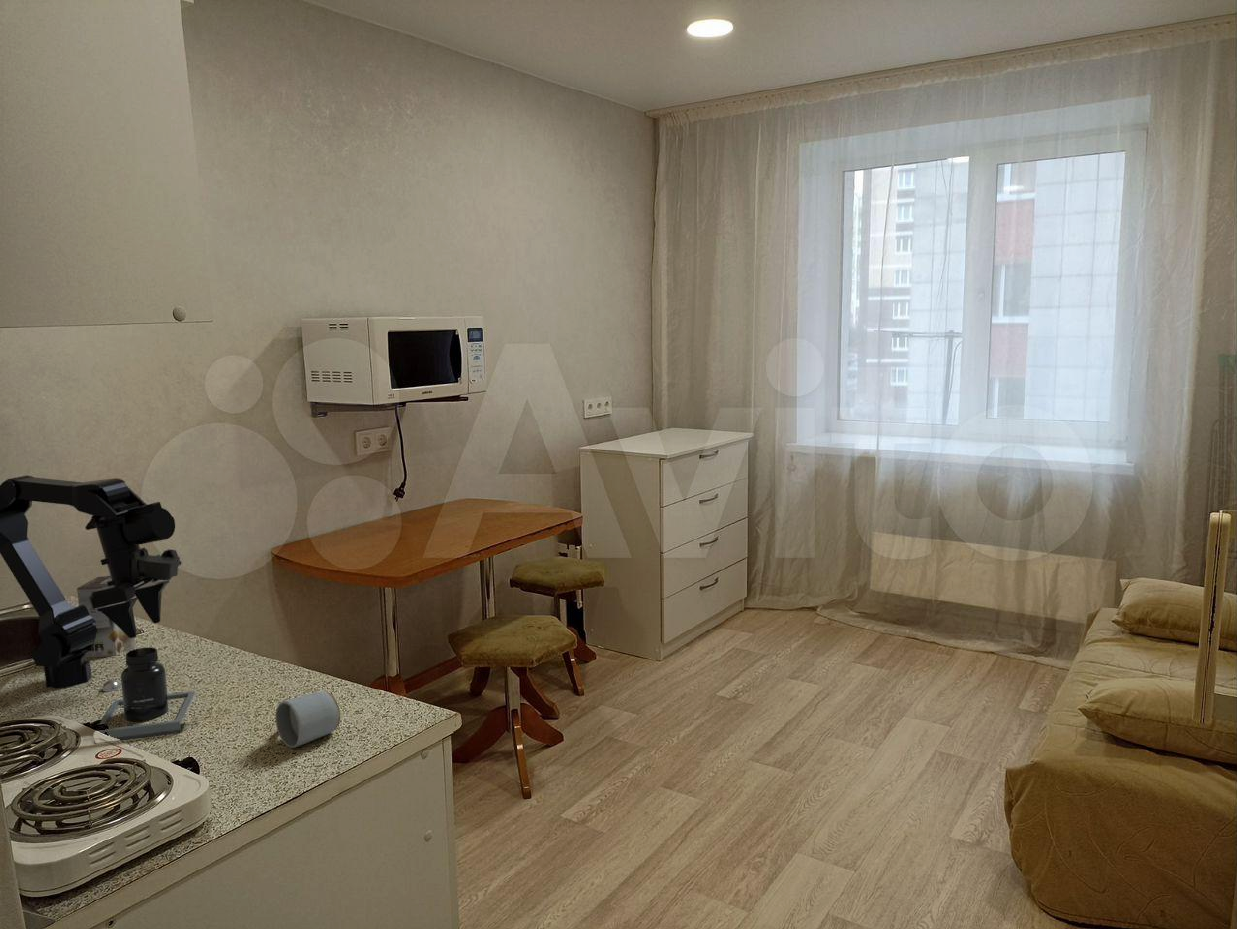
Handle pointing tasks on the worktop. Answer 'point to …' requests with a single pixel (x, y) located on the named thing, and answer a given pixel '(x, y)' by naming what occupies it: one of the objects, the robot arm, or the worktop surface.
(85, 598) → the coffee box
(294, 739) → the ceramic mug
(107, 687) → the mixing ball
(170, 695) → the tray
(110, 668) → the worktop surface
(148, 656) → the supplement bottle
